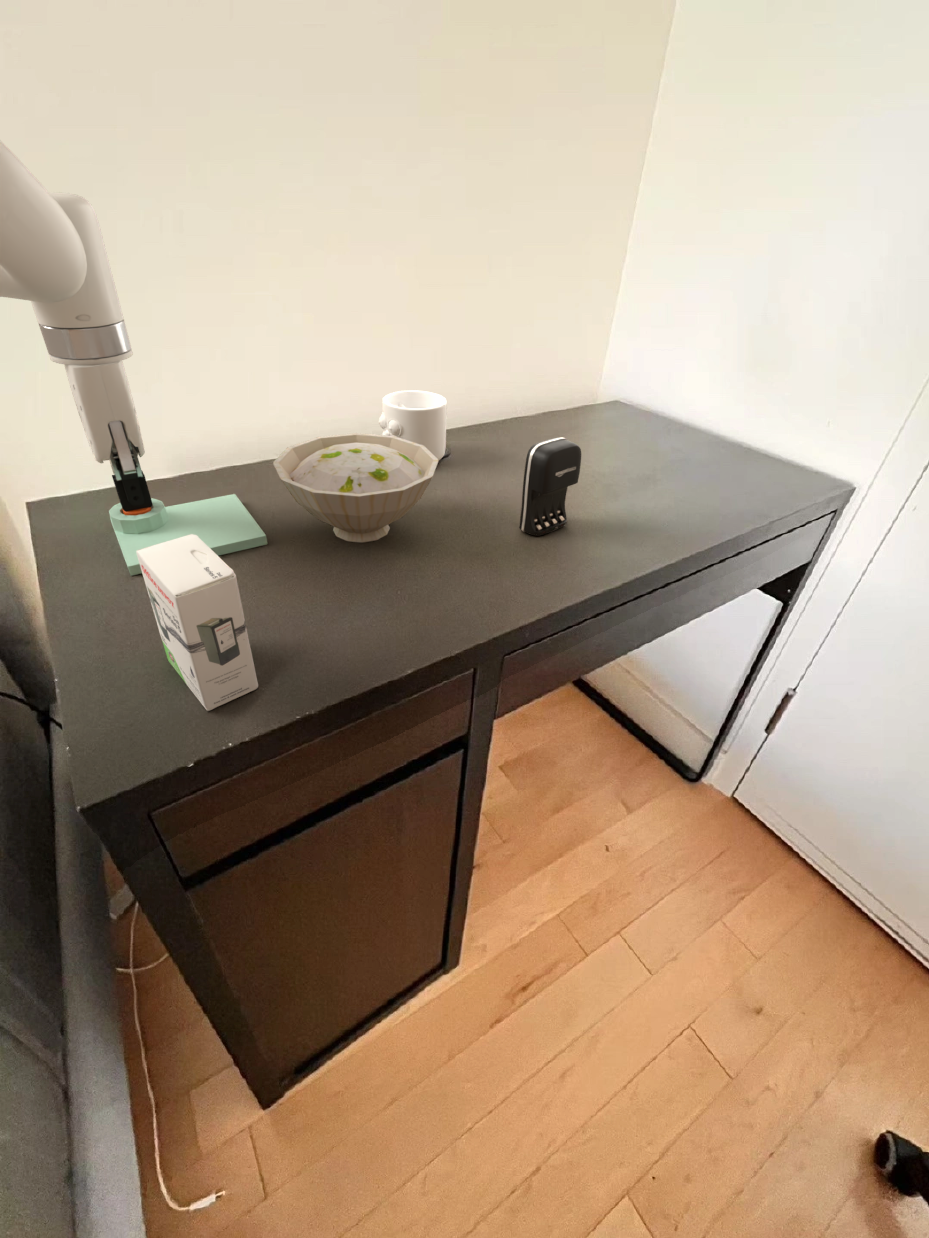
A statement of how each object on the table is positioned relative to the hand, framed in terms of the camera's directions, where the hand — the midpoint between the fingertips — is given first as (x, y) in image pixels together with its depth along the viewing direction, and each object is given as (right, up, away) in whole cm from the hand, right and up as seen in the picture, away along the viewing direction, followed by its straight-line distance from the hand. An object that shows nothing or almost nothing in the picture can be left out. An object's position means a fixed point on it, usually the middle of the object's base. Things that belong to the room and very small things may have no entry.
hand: (137, 506), depth 73 cm
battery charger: (+49, -2, +7) cm, 50 cm away
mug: (+30, +13, +25) cm, 41 cm away
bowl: (+26, -2, +5) cm, 26 cm away
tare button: (0, -2, +1) cm, 2 cm away
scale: (+6, -3, +1) cm, 7 cm away
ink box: (+17, -18, -18) cm, 31 cm away
